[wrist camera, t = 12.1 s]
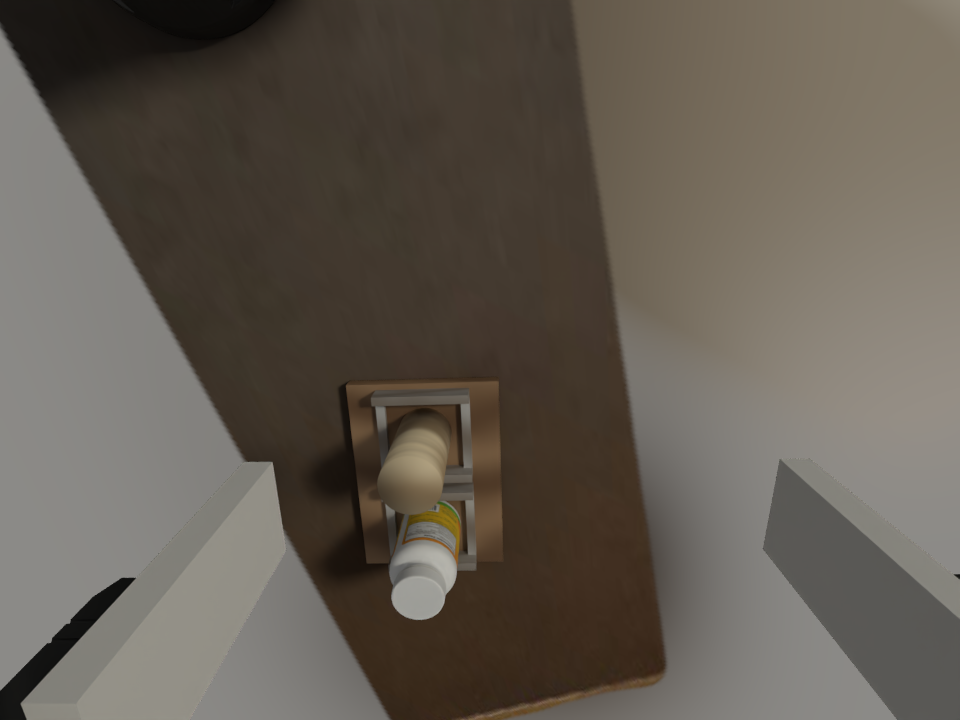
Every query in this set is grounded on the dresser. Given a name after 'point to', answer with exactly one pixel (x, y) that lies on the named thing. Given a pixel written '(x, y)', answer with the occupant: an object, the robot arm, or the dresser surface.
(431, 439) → the beech dowel
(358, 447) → the board
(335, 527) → the dresser surface
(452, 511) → the supplement bottle
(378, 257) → the dresser surface
